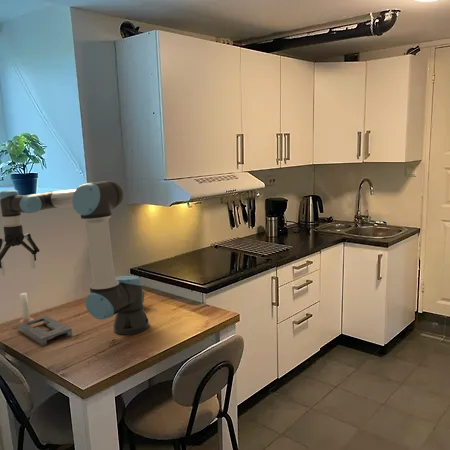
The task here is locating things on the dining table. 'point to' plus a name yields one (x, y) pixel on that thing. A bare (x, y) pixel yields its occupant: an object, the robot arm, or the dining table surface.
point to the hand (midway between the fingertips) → (18, 271)
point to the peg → (25, 308)
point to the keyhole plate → (42, 335)
